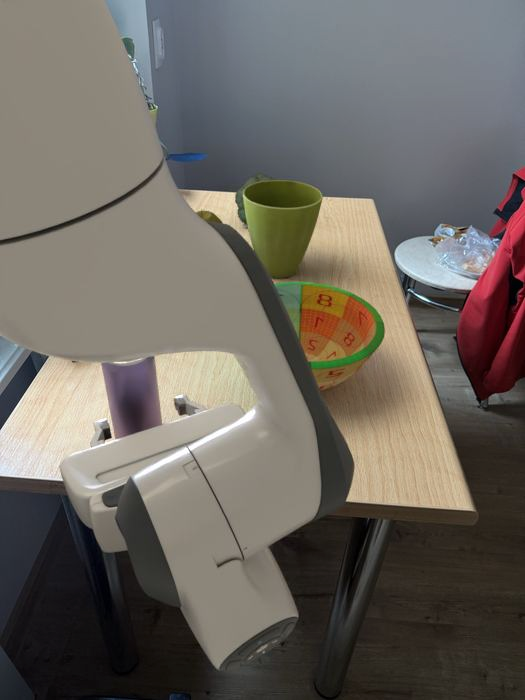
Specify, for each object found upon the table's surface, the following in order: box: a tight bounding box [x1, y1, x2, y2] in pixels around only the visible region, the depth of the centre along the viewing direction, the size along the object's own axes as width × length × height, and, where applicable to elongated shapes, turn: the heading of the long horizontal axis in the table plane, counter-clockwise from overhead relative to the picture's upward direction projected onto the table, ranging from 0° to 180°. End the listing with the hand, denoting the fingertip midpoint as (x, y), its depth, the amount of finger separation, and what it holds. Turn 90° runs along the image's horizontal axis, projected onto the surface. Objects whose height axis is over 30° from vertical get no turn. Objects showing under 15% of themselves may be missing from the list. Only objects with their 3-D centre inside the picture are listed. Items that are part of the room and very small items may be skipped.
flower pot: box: [243, 179, 324, 279], centre depth 103 cm, size 15×15×16 cm
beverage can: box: [100, 356, 163, 440], centre depth 64 cm, size 6×6×15 cm
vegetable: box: [234, 172, 279, 226], centre depth 126 cm, size 12×13×15 cm
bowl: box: [274, 281, 386, 391], centre depth 78 cm, size 22×22×10 cm
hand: (141, 411), depth 61 cm, fingers open, 8 cm apart
